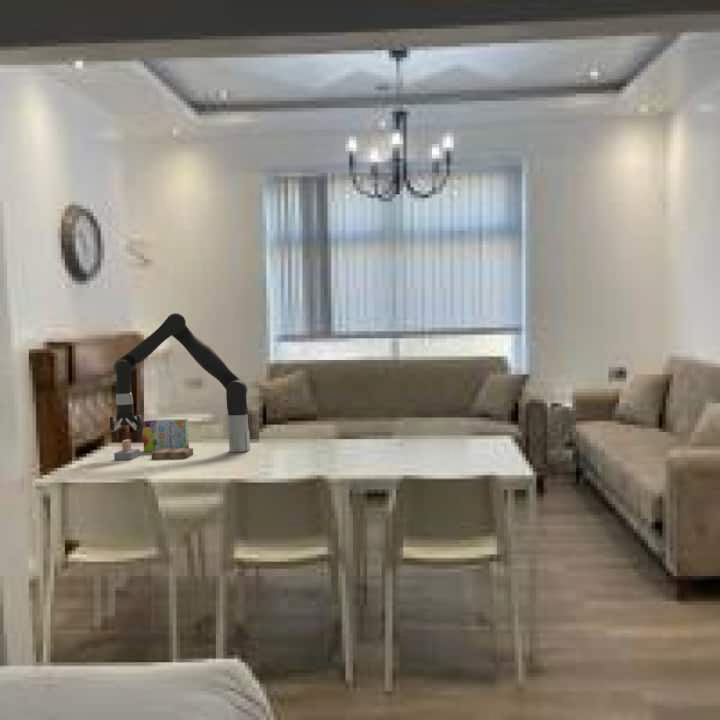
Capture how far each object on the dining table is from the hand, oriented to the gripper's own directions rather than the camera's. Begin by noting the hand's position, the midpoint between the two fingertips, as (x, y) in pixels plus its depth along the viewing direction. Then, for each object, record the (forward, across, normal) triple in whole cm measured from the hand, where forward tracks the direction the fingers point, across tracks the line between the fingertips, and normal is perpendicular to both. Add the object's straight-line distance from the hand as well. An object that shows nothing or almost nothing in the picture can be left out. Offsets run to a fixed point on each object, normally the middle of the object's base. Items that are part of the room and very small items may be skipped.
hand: (126, 438), depth 421 cm
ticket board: (+9, -21, 0) cm, 23 cm away
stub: (+9, 0, 0) cm, 9 cm away
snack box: (+10, -12, -22) cm, 27 cm away
